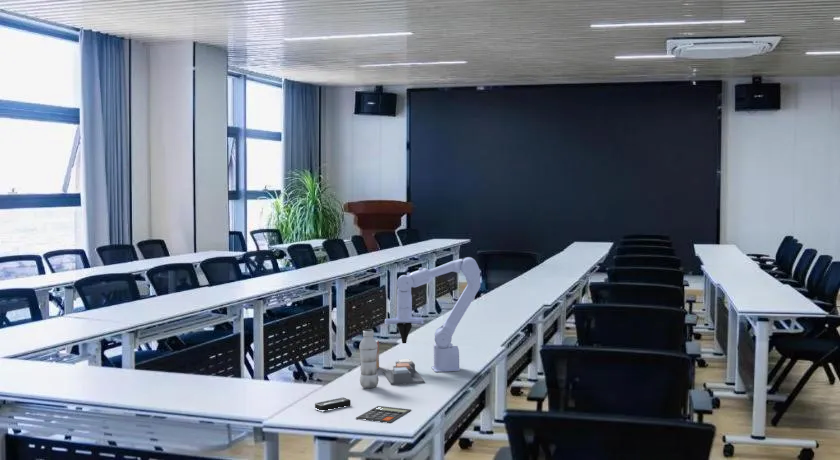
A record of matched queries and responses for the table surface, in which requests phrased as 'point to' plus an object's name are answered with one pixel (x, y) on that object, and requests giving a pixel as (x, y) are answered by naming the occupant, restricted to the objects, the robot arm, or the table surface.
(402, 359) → the ivory key
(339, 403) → the multiport hub
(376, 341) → the small box
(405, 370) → the slate key
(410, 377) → the panel
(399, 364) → the terracotta key
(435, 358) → the robot arm
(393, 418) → the calculator
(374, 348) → the plastic bottle
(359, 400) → the table surface
